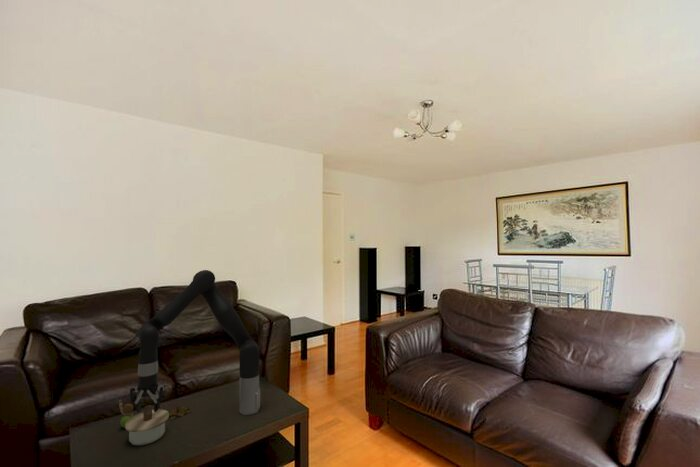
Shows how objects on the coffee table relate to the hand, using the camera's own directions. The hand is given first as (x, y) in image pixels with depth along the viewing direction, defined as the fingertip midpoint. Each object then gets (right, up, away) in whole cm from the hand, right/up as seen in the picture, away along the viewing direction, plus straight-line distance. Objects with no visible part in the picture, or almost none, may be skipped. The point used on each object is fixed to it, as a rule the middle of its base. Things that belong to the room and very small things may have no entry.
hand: (147, 411), depth 140 cm
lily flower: (+3, -12, +19) cm, 23 cm away
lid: (0, -4, 0) cm, 4 cm away
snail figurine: (-14, -11, +7) cm, 19 cm away
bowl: (0, -11, 0) cm, 11 cm away
